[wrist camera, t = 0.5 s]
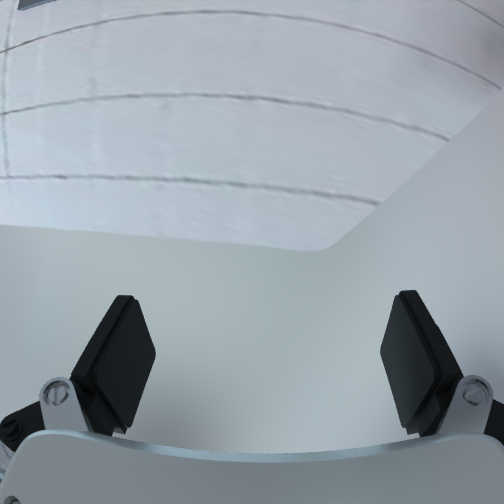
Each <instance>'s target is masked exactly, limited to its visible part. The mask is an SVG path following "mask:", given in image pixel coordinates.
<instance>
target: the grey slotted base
mask: <svg viewBox="0 0 504 504" xmlns="http://www.w3.org/2000/svg"><path fill="white" fill-rule="evenodd" d="M52 1H56V0H20V1H19V5H18V9H17V10H22V11H24V10H27V9H30V8H33V7H36V6H39V5H42V4H45V3H49V2H52Z"/></svg>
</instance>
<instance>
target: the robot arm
mask: <svg viewBox="0 0 504 504" xmlns="http://www.w3.org/2000/svg"><path fill="white" fill-rule="evenodd" d="M380 350H381V351H380V353H381V358H382V361H383V364H384V367H385V371H386V374H387V377H388V380H389V384H390V387H391V390H392V394H393V397H394V401H395V404H396V408H397V411H398V415H399V419H400V422H401V425H402V427H403V428H406V430H407V434H413V433H418V432H419V435H420V438H415V439H410V440H405V441H400V442H394V443H388V444H382V445H375V446H369V447H362V448H354V449H345V450H336V451H324V452H309V453H289V454H288V453H287V454H286V453H285V454H251V453H250V454H249V453H227V452H212V451H201V450H191V449H183V448H175V447H167V446H160V445H155V444H149V443H143V442H137V441H131V440H127V439H121V438H117V437H112V434H113V432H116V433H121V434H125V433H126V430H127V428H129V427H131V426H132V423H133V420H134V417H135V414H136V411H137V408H138V405H139V402H140V400H141V396H142V394H143V391H144V388H145V385H146V382H147V380H148V377H149V374H150V371H151V368H152V365H153V363H154V360H155V355H156V352H155V348H154V345H153V342H152V339H151V337H150V334H149V331H148V328H147V325H146V322H145V319H144V316H143V313H142V310H141V307H140V304H139V302H138V300H135V299H134V297H133V296H131V295H118V296H117V297H116V298H115V300H114V301H113V303H112V305H111V306H110V308H109V309H108V311H107V313H106V314H105V316H104V318H103V319H102V321H101V322H100V324H99V326H98V327H97V329H96V331H95V333H94V335H93V336H92V338H91V340H90V341H89V343H88V345H87V346H86V348H85V350H84V352H83V353H82V355H81V357H80V359H79V361H78V362H77V364H76V366H75V368H74V369H73V371H72V373H71V377H70V379H67V378H64V377H57V378H53V379H51V380H50V381H48V382H47V383H46V384H44V386H43V387H42V389H41V391H40V394H39V400H40V401H38V402H36V403H33V404H31V405H29V406H27V407H25V408H23V409H21V410H19V411H16V412H14V413H12V414H10V415H8V416H6V417H5V418H4V419H3V420H2V422H1V424H0V504H504V404H502V403H500V402H498V401H496V400H494V399H493V390H492V387H491V386H490V384H489V383H488V382H487V381H486V380H485V379H484V378H482V377H480V376H476V375H468V376H466V377H464V376H463V374H462V372H461V369H460V368H459V366H458V364H457V362H456V359H455V357H454V355H453V354H452V351H451V350H450V348H449V346H448V344H447V342H446V340H445V338H444V336H443V334H442V333H441V331H440V329H439V327H438V326H437V325H436V324H435V322H434V320H433V318H432V317H431V315H430V313H429V311H428V310H427V308H426V306H425V304H424V303H423V301H422V299H421V298H420V296H419V294H418V293H417V291H416V290H406V291H401V292H400V293H399V295H396V296H395V299H394V302H393V306H392V310H391V313H390V317H389V321H388V324H387V328H386V331H385V335H384V338H383V341H382V345H381V349H380Z"/></svg>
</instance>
